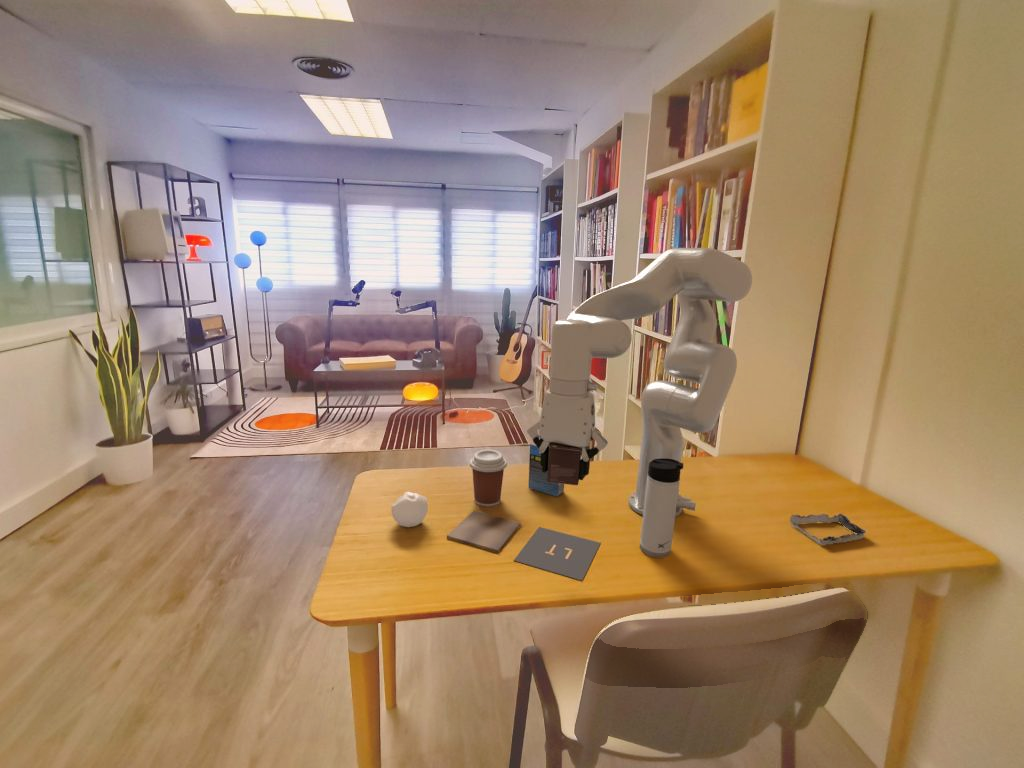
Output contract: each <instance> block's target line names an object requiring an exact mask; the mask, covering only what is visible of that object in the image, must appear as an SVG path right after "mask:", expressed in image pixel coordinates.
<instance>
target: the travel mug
mask: <svg viewBox="0 0 1024 768" xmlns="http://www.w3.org/2000/svg"><path fill="white" fill-rule="evenodd" d="M683 469H684V462H681V463H680V462H679V461H677V460H673V459H667V458H660V459H654V460H652V462H650V463H649V467H648V474H647V483H646V492H645V501H644V511H643V515H642V520H641V531H640V540H639V548H640V550H641V552H643V553H644V554H646V555H647V556H650V557H653V558H658V559H659V558H665V557H668V556H669V555H670V554H671V551H672V545H673V544H672V543H673V538H674V537H673V535H674V527H675V521H676V520H675V519H676V517H675V514H676V506H677V498H678V490H679V491H680V489H679V488H680V480H681V478H680V477H681V470H683Z"/></svg>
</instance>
